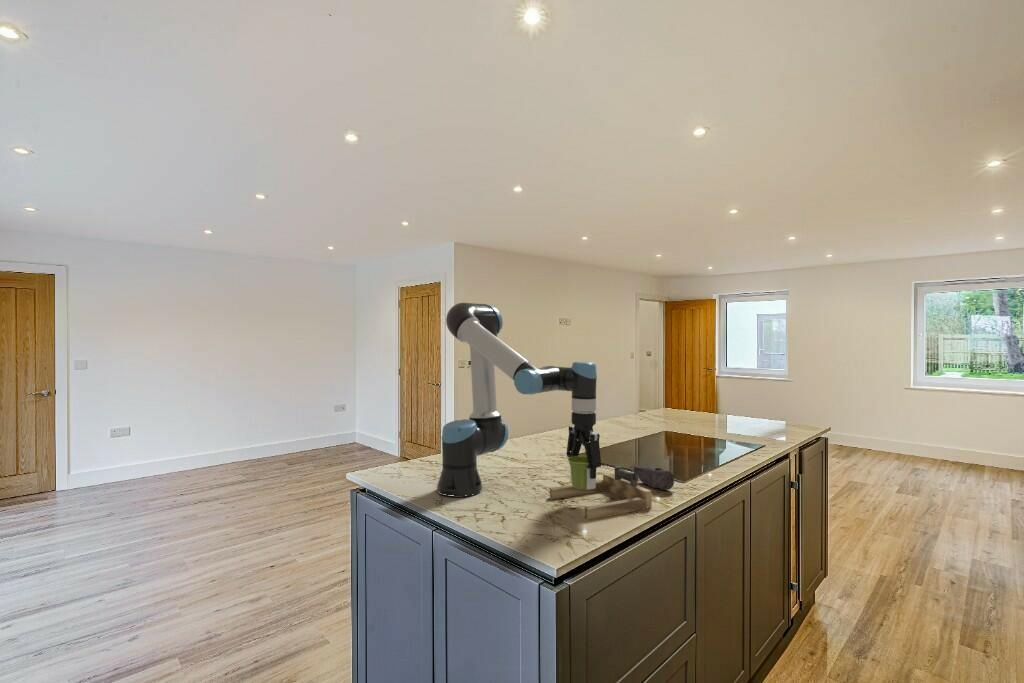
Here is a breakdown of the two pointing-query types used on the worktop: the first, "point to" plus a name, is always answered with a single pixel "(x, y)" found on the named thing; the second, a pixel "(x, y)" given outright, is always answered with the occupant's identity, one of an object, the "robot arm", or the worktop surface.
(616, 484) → the bay
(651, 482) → the perforated stone tool
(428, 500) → the worktop surface
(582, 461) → the plant pot
